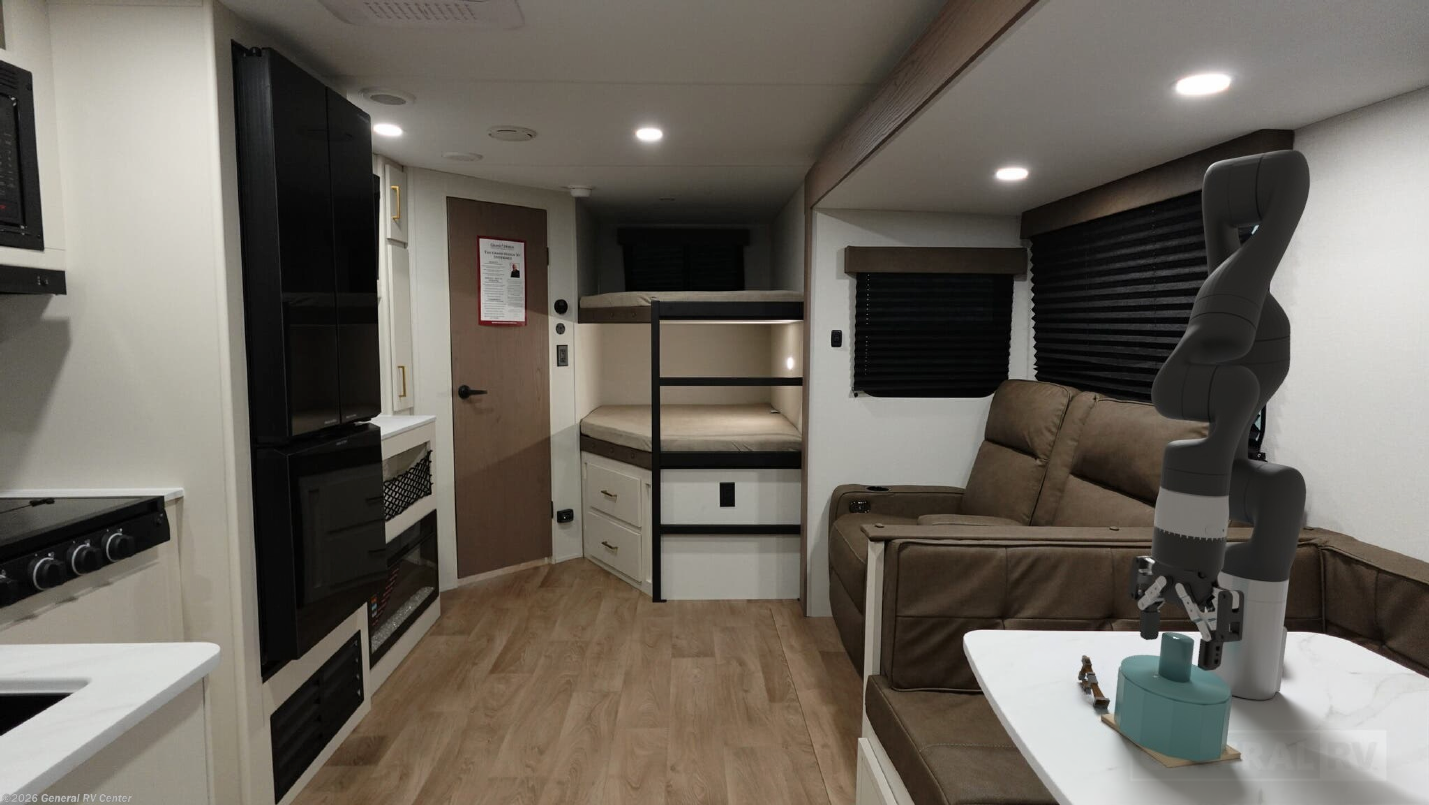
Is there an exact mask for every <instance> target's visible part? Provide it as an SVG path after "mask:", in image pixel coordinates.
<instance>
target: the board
mask: <svg viewBox="0 0 1429 805" xmlns="http://www.w3.org/2000/svg"><path fill="white" fill-rule="evenodd" d="M1100 720H1101V721H1103V722H1104V723H1106V724H1107V725H1108V726H1110V727H1111V728H1112V729H1114V730H1115V731H1117V732H1118V733H1119V734H1121V735H1122V736H1124V737H1125V738H1126V739H1128V740H1129V741H1130V742H1132V743H1133V744H1134V745H1136V746H1137V747H1139V748H1140V749H1142V750H1143V751H1145V753H1147V754H1149V755H1150V756H1152V757H1153V758H1154V759H1156V760H1157V761H1158V762H1160V763H1161V764H1162V765H1164V766H1166V767H1167V768H1175V767H1181V766H1183V767H1184V766H1188V765H1196V764H1197V765H1198V764H1204V763H1211V762H1219V761H1225V760H1234V759H1240V758H1241V757H1242V756H1241V755H1242V753H1241V752H1240V751H1239V750H1237V749H1235V748H1233V747H1232V746H1230V745H1229V744H1228V743H1227V744H1226V749H1225V751H1224V753H1223V754H1222V756H1221V757H1220V759H1215V760H1208V761H1201V762H1196V761H1191V760H1185V759H1179V758H1174V757H1168V756H1166V755H1163V754H1161V753H1158V752H1156V751H1153V750H1151V749H1148V748H1146V747H1143V746H1141V745H1139V744H1137V743H1136V742H1134V741H1133V740H1132V739H1130V738H1129V737H1127V736H1126V735H1125V734H1123V733H1122V732H1120V730H1119V728H1118V726H1117V724H1116V722H1115V720H1114V712H1113V713H1107V714H1106V713H1105V714H1101V715H1100Z"/></svg>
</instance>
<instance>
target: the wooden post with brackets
mask: <svg viewBox="0 0 1429 805" xmlns="http://www.w3.org/2000/svg"><path fill="white" fill-rule="evenodd" d="M1080 662H1081V664H1082V666H1081V668H1080V670H1079V671H1078V676H1077V679H1078V681H1081V684H1080V686H1082V688H1083V691H1086V693H1088V694H1091V692H1092V694H1093V699H1094V701H1093V704H1092V707H1093V708H1103V709H1104V708H1106V709H1108V707H1109V706H1110V704H1111V703H1110V702H1111V700H1110V698H1109V697H1106V696H1105V695H1104V694H1103V692H1102V690H1101V688H1100V687H1099V681H1098V679H1097V675H1096V673H1095V672H1094V670H1093V664H1092V661H1091V658H1090V657H1089V656H1087V655H1086V654H1084V655H1082V656H1081V660H1080Z"/></svg>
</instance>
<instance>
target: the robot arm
mask: <svg viewBox="0 0 1429 805" xmlns="http://www.w3.org/2000/svg"><path fill="white" fill-rule="evenodd" d="M1310 175H1311V174H1310V167H1309V164H1308V161H1307V158H1306V157H1305V155H1304V154H1303V152H1301V151H1299V150H1297V149H1283V150H1281V149H1280V150H1276V151H1275V150H1274V151H1268V152H1265V153H1258V154H1252V155H1251V154H1250V155H1245V156H1241V157H1235V158H1230V159H1223V160H1220V161H1216V162H1214V163H1212V164H1211V165H1210V166H1209V167H1208V168H1207V169H1206V171H1205V174H1204V177H1203V182H1202V189H1201V190H1202V192H1201V208H1202V220H1203V230H1204V239H1205V241H1204V242H1205V251H1206V252H1205V253H1206V261H1207V275H1208V277H1207V278H1206V279H1205V281H1204V283H1203V284H1202V285H1201V287H1200V288H1199V291H1198V292H1197V294H1196V297H1195V300H1194V303H1193V307H1192V310H1191V313H1190V317H1189V320H1188V325H1187V327H1186V330H1185V333H1183V336H1182V338H1181V339H1180V341H1179V342H1178V344H1177V345H1176V346H1175V349H1174V350H1173V351H1172V353H1171V354H1170V355H1169V357H1168V358H1167V359H1166V361H1165V362H1164V363H1163V365H1162V366H1161V368H1160V369H1159V370H1158V372H1157V373H1156V376H1155V378H1154V380H1153V383H1152V388H1151V394H1150V396H1151V398H1150V399H1151V402H1152V405H1153V408H1154V409H1155V411H1156V412H1157V413H1158V414H1159V415H1160V416H1162V417H1163V418H1166V419H1170V420H1178V421H1187V422H1195V423H1196V422H1197V423H1207V424H1208V431H1207V436H1206V437H1203V438H1197V439H1196V438H1195V439H1192V438H1191V439H1180V440H1173V441H1171V442H1169V443H1167V444H1166V446H1165V447H1164V450H1163V455H1162V465H1161V474H1160V486H1159V489H1158V490H1159V491H1158V495H1157V499H1156V502H1155V508H1154V518H1153V519H1154V520H1153V521H1154V522H1153V527H1152V528H1153V531H1152V539H1151V550H1150V555H1140V556H1134V557H1132V562H1131V568H1130V576H1129V582H1128V587H1127V588H1128V589H1127V597H1128V599H1129V600H1131V601H1135V602H1136V604H1137V606H1138V608H1139V609H1140V612H1139V621H1138V622H1139V624H1138V630H1139V634H1140V635H1139V636H1140V637H1141V638H1142V639H1143V640H1145V641H1151V640H1157V639H1158V637H1159V632H1160V624H1161V623H1160V622H1161V613H1162V612H1161V611H1160V610H1158V609H1160V608H1161V607H1162V606H1164V605H1165V603H1167V604H1169V605H1174V606H1176V607H1177V608H1179V609H1180V610H1182V611H1185V612H1187V614H1188V616H1189V618H1190V620H1191V621H1192V622H1193V623H1195V624H1196V626H1197V628H1198V630H1199V633H1200V635H1201V638H1200V640H1199V649H1198V657H1197V666H1198V667H1199V668H1200V669H1202V670H1204V671H1210V672H1212V673H1214V674H1216V675H1217V676H1219V677H1220V678H1222V679H1223V680H1224V681H1225V682H1226V683H1227V684H1228V685H1229V687H1230V689H1231V692H1230V693H1231V694H1232V696H1234V697H1238V698H1244V699H1248V700H1258V701H1259V700H1262V701H1263V700H1269V699H1272V698H1274V697H1275V694H1276V693H1277V692H1281V688H1282V686H1281V685H1282V678H1283V670H1284V663H1285V662H1284V661H1285V655H1286V647H1287V646H1286V643H1287V636H1288V629H1287V627H1286V626H1284V624H1285V616H1286V607H1287V598H1288V590H1289V581H1290V574H1291V568H1292V565H1293V563H1294V560H1295V557H1296V554H1297V550H1298V544H1299V538H1300V533H1301V527H1302V523H1303V516H1304V513H1305V507H1306V501H1307V500H1306V499H1307V486H1306V480H1305V478H1304V476H1303V474H1302V473H1301V471H1299V470H1298V469H1296V468H1295V467H1293V466H1289V465H1284V464H1281V463H1280V464H1278V463H1273V462H1267V461H1263V460H1255V459H1250V458H1249V453H1248V449H1249V448H1248V446H1249V437H1250V436H1249V435H1250V431H1251V427H1252V426H1253V424H1254V422H1255V420H1256V418H1257V416H1258V415H1259V413H1260V412H1261V411H1262V409H1263V408H1264V407H1265V406H1266V405H1267V404H1268V402H1269V401H1271V399H1272V398H1273V396H1275V394H1276V392H1277V391H1278V390H1279V389H1280V388H1281V386H1282V385H1283V383H1284V382H1285V380H1286V378H1287V376H1288V374H1289V372H1290V368H1291V333H1292V332H1291V331H1292V330H1291V328H1292V326H1291V323H1290V322H1291V321H1290V319H1289V317H1288V315H1287V313H1286V312H1285V310H1284V308H1283V307H1282V306H1281V304H1280V303H1279V302H1278V300H1277V299H1276V298H1275V297H1274V295H1273V294H1272V293H1271V292H1270V291H1269V288H1270V285H1271V282H1272V280H1273V277H1274V275H1275V273H1276V271H1277V269H1278V267H1279V265H1280V263H1281V261H1282V260H1283V257H1284V255H1285V253H1286V251H1287V250H1288V247H1289V245H1290V243H1291V241H1292V239H1293V236H1294V233H1295V232H1296V229H1297V227H1298V225H1299V223H1300V221H1301V219H1302V216H1303V214H1304V212H1305V209H1306V205H1307V203H1308V202H1307V201H1308V198H1309V196H1310V195H1309V193H1310V188H1311V187H1310V186H1311V176H1310ZM1248 227H1257V228H1256V229H1255V231H1254V232H1253V233H1252V234H1251V235H1250V236H1249V238H1248V239H1247V240H1245V241H1244V243H1243V244H1242V245H1241V242H1240V237H1239V228H1248ZM1230 521H1235V522H1238V523H1242V524H1245V525H1249V526H1253V530H1252V533H1251V537H1250V539H1248V540H1246V541H1242V542H1241V541H1239V542H1227V538H1228V531H1229V530H1228V529H1229V522H1230ZM1153 578H1154V581H1155V582H1154V583H1153ZM1203 609H1204V612H1202V611H1201V610H1203Z"/></svg>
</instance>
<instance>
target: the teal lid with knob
mask: <svg viewBox="0 0 1429 805" xmlns="http://www.w3.org/2000/svg"><path fill="white" fill-rule="evenodd" d="M1160 641H1161V643H1160V651H1159V655H1153V654H1135V655H1131V656H1130V655H1129V656H1126V657H1125V658H1123V659H1122V660H1121V662H1120V666H1118V672H1117V682H1116V692H1115V701H1114V702H1115V703H1114V712H1113V713H1114V720H1115V722H1116V724H1117V726H1118V728H1119V730H1120V732H1122V733H1123V734H1125V735H1126V736H1127V737H1129V738H1130V739H1132V740H1133V741H1134V742H1136V743H1137V744H1139V745H1141V746H1143V747H1146V748H1148V749H1151V750H1153V751H1156V752H1158V753H1161V754H1163V755H1166V756H1168V757H1174V758H1179V759H1185V760H1191V761H1196V762H1201V761H1208V760H1215V759H1220V757H1221V756H1222V754H1223V753H1224V751H1225V749H1226V744H1227V745H1228V743H1227V742H1228V735H1229V734H1228V733H1229V725H1230V717H1231V708H1232V701H1233V695H1232V694H1231V693H1230V692H1231V689H1230V687H1229V685H1228V684H1227V683H1226V682H1225V681H1224V680H1223V679H1222V678H1220V677H1219V676H1217V675H1216V674H1214V673H1212V672H1210V671H1204V670H1202V669H1200V668H1199V667H1198V665H1196V664H1194V663H1193V656H1194V648H1195V647H1194V646H1195V640H1194V638H1192V637H1190V636H1188V635H1187V634H1184V633H1183V634H1182V633H1179V632H1175V631H1174V632H1173V631H1165V632H1162V634H1161V639H1160Z"/></svg>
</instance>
